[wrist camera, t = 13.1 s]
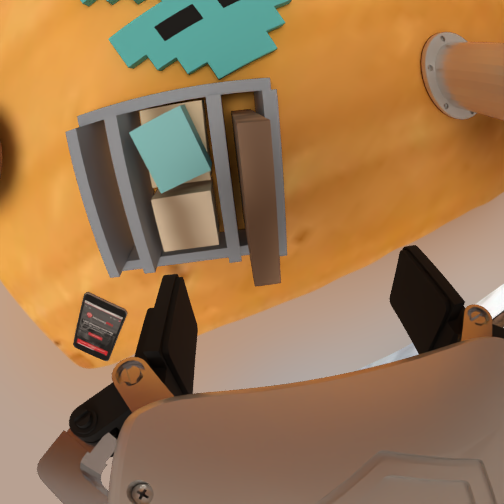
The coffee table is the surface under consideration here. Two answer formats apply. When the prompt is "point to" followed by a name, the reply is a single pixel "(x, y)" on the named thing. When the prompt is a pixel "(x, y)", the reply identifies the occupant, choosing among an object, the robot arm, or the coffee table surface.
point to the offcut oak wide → (199, 120)
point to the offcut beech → (187, 216)
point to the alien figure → (200, 34)
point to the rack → (139, 182)
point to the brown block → (258, 193)
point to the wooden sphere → (0, 159)
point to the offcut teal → (172, 148)
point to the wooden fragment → (499, 320)
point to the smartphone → (98, 326)
